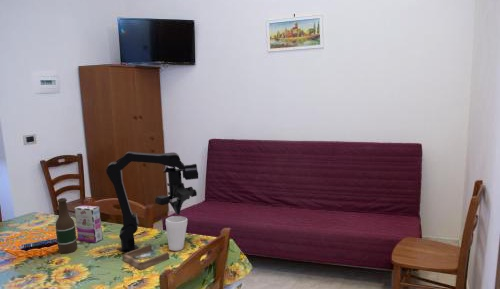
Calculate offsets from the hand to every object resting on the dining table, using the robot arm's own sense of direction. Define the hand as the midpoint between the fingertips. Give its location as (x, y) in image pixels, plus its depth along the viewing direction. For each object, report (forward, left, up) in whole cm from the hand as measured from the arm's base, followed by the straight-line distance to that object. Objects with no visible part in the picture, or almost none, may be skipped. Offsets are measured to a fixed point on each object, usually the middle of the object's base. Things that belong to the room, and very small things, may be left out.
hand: (177, 214), depth 177 cm
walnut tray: (+3, -19, -13) cm, 23 cm away
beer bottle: (-33, -37, -13) cm, 51 cm away
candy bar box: (-37, -25, -13) cm, 47 cm away
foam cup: (+5, -5, -13) cm, 15 cm away
